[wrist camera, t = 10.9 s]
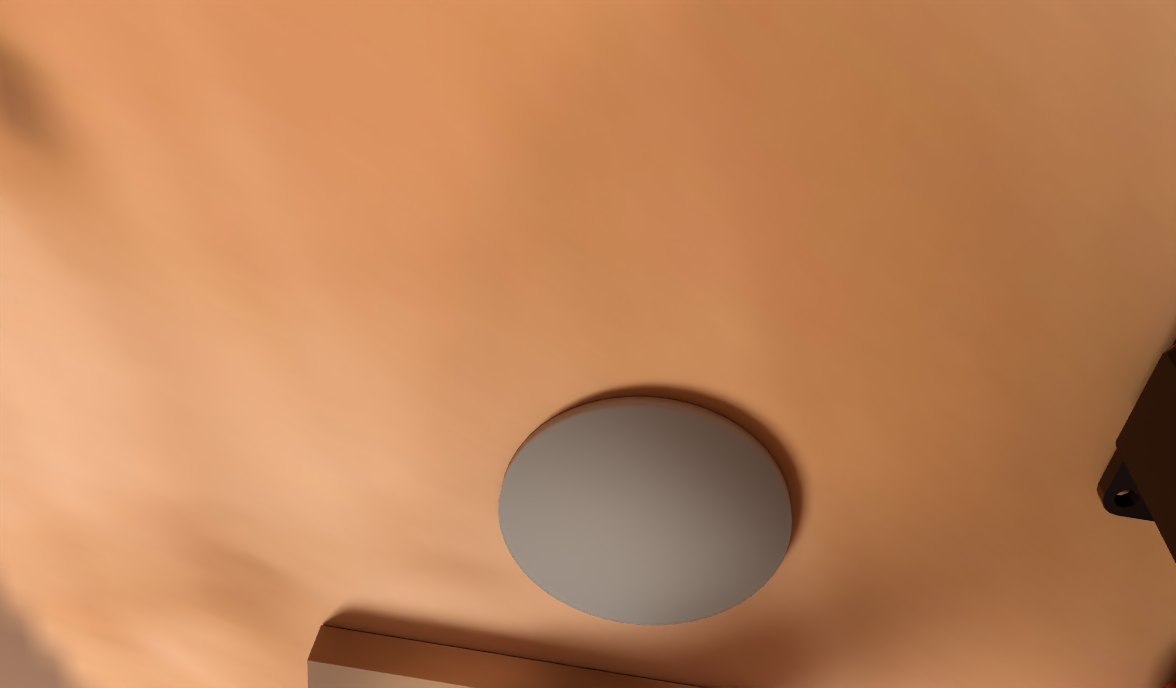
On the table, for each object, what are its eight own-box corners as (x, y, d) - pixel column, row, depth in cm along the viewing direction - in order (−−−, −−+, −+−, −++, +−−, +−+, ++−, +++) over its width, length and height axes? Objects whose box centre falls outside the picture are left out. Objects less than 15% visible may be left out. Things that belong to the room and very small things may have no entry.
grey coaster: (823, 424, 24) (825, 435, 23) (755, 632, 28) (755, 644, 27) (515, 373, 24) (512, 383, 23) (489, 588, 28) (487, 600, 27)
